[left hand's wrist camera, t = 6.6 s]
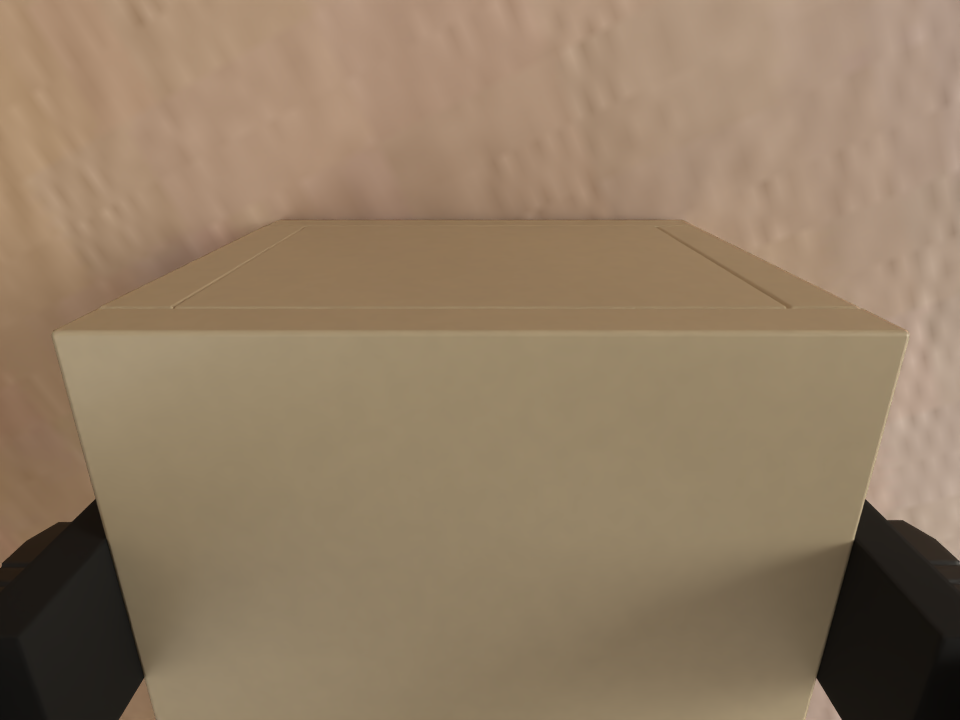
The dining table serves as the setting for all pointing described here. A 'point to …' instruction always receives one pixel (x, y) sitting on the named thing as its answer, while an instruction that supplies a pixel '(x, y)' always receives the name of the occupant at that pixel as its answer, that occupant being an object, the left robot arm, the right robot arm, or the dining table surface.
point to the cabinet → (480, 471)
